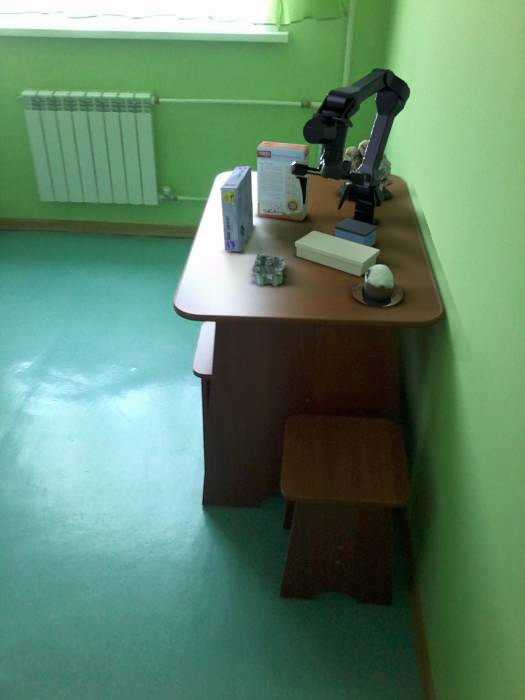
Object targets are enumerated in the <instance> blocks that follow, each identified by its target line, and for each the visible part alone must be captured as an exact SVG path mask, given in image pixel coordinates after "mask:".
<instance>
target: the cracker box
mask: <svg viewBox="0 0 525 700" xmlns="http://www.w3.org/2000/svg"><path fill="white" fill-rule="evenodd" d="M293 161H299V162H305V163H307V164H308V165H309V166H310V145H309V144H299V143H298V144H297V143H288V142H287V143H286V142H276V141H265V140H263V141H262V142H261V143H259V145H258V146H256V183H257V185H256V186H257V188H256V189H257V194H256V195H257V197H256V199H257V201H256V202H257V216H258V217H263V218H264V217H265V218H273V219H281V220H289V221H297V222H303V221H304V220H305V218H306V216H307V215H308V200H309V199H308V198H309V174H307V175H306V177H307V178H308V180H307V189H306V201H305V205H303V200H302V192H301V186H300V182H299V179H296V178H295V175H293V174H291V172H290V169H291V164H292V162H293Z"/></svg>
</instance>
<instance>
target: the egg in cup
mask: <svg viewBox="0 0 525 700" xmlns="http://www.w3.org/2000/svg"><path fill="white" fill-rule="evenodd" d="M351 294H352V296H353V297H354V299H356V300H357V301H358V302H360V303H362V304H365V305H367V306H370V307H377V308H381V307H390V306H394V305H396V304H398V303H400V301H402V299H403V296H404V291H403V290H402V288H401V287H400V285H398V284H396V283H395V280H394V275H393V273H392V271H391V269H390V267H388V265H386V264H380V263H378V264H376V265H374V266H372V267H370V268H369V269H368V271H367V272H365V273H364V278H363V279H361V280H359V281H357V282H355V283H354V284H353V285H352V287H351Z"/></svg>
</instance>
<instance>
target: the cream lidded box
mask: <svg viewBox="0 0 525 700" xmlns="http://www.w3.org/2000/svg"><path fill="white" fill-rule="evenodd" d="M294 247H296V254H295V255H296V257H298V258H302V259H305V260H307V261H310V262H314V263H317V264H319V265H324V266H326V267H329V268H333V269H336V270H339V271H342V272H345V273H348V274H351V275H354V276H357V277H362V276H363V275H365V273H366V272H368V269H369V268H370V267H372V266H374V265H377V257H378V256H380V254H381V249H378V248H375V247H373V246H371V247H368V246H365V245H362V244H358V243H355V242H351V241H348V240H345V239H341V238H338V237H335V235H331V234H327V233H324V232H320V231H318V230H312V231H310V232H309V233H307V234H306V235H304V236H302V237H301V238H299V239H297V240H296V241H294Z"/></svg>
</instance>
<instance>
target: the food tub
mask: <svg viewBox="0 0 525 700" xmlns="http://www.w3.org/2000/svg"><path fill="white" fill-rule="evenodd" d="M334 229H335V230H334V231H335V233H334V237H338V238H341V239H345V240H348V241H351V242H355V243H358V244H362V245H365V246H368V247H373V246H374V245H375V244H376V236H377V230H378V229H379V228H378V226H377V225H375V224H373V225H371V224H367V223H364V222H360V221H356V220H353V218H349V217H347V218H346V219H344V220H342V221H340V222H339V223H337V224H336V225H334Z"/></svg>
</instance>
